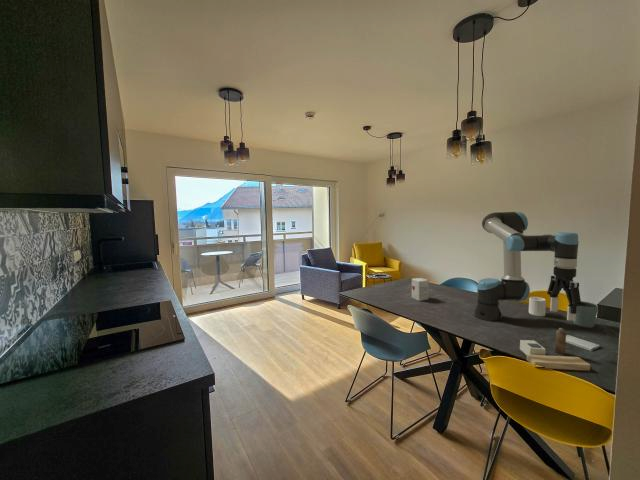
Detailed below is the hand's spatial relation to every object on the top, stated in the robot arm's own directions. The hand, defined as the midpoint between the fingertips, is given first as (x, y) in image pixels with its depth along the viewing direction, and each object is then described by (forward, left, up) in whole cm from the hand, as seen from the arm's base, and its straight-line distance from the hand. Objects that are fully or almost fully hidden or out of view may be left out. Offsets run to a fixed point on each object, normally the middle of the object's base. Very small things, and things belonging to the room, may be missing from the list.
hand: (562, 315), depth 122 cm
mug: (-51, +20, -18) cm, 58 cm away
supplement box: (-76, -47, -18) cm, 91 cm away
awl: (0, 0, -18) cm, 18 cm away
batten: (+11, -8, -18) cm, 22 cm away
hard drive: (-11, +15, -19) cm, 26 cm away
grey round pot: (-35, +34, -18) cm, 52 cm away
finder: (+3, -13, -18) cm, 22 cm away
